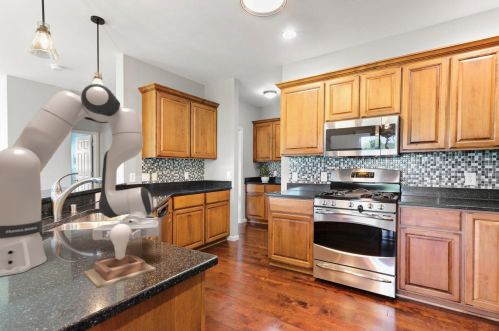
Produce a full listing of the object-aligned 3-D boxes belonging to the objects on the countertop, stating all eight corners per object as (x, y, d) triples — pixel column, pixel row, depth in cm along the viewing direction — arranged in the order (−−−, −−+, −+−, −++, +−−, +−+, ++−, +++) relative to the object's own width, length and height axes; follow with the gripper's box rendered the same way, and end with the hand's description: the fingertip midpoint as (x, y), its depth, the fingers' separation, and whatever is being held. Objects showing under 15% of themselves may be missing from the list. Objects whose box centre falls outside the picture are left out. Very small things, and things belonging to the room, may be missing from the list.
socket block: (97, 288, 66) (97, 276, 66) (83, 273, 76) (83, 263, 76) (155, 270, 78) (155, 260, 78) (137, 259, 87) (137, 250, 87)
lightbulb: (107, 264, 73) (109, 226, 73) (109, 258, 78) (110, 222, 79) (131, 261, 75) (132, 225, 76) (131, 255, 81) (132, 221, 81)
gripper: (102, 219, 88) (82, 228, 75) (162, 216, 91) (154, 225, 78) (102, 237, 88) (82, 249, 74) (162, 234, 91) (154, 245, 78)
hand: (119, 237), depth 76 cm, fingers closed on lightbulb, 5 cm apart
